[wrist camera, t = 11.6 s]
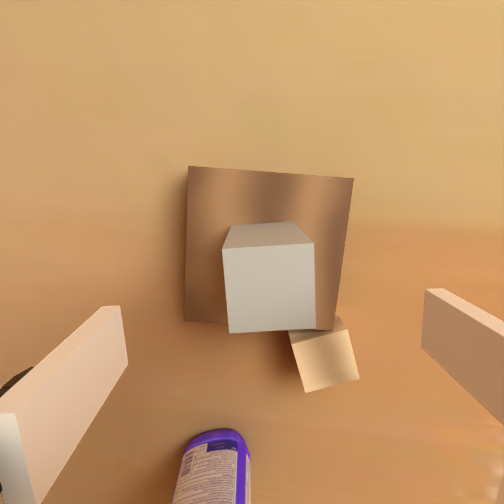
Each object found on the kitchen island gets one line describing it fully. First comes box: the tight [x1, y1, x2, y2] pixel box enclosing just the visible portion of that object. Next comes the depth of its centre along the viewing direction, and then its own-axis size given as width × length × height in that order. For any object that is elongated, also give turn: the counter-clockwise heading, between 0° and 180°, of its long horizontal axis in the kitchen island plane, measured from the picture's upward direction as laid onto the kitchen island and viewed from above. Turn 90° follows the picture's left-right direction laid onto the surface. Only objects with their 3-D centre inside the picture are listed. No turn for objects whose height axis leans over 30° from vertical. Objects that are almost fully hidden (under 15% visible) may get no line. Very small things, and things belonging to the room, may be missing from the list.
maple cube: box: [288, 312, 360, 393], centre depth 32 cm, size 5×5×5 cm
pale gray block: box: [222, 221, 316, 333], centre depth 23 cm, size 5×5×9 cm
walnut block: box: [184, 166, 354, 330], centre depth 30 cm, size 13×13×5 cm
